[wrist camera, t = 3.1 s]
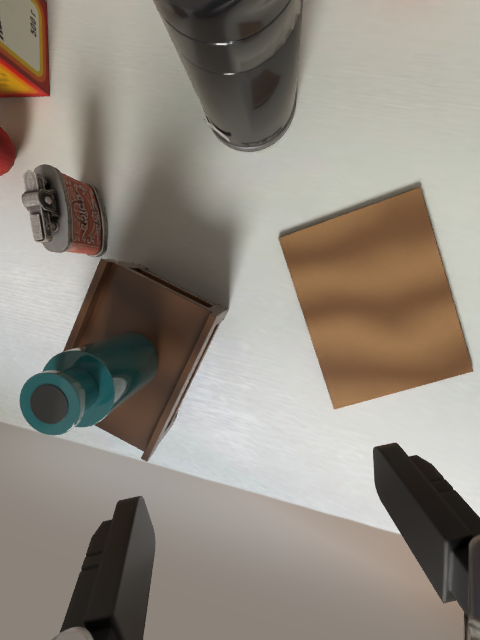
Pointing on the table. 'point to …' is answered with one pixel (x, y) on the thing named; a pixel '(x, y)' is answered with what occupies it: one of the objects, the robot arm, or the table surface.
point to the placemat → (377, 300)
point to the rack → (161, 330)
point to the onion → (6, 152)
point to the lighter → (65, 212)
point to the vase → (88, 382)
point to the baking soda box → (24, 48)
